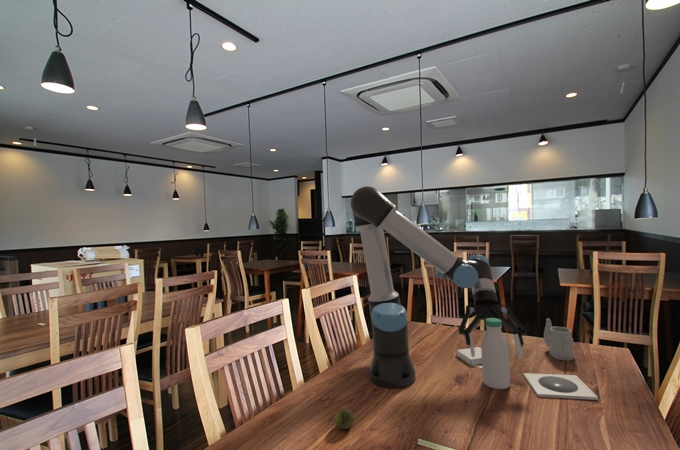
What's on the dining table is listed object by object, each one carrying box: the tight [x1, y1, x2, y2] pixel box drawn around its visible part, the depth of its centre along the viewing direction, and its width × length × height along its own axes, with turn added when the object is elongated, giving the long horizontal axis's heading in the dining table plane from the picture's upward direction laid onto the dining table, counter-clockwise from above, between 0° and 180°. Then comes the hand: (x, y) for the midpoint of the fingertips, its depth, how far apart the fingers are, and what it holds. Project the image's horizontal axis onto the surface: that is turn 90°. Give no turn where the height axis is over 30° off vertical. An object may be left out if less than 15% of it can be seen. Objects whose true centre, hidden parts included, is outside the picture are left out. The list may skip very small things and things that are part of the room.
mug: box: [543, 317, 576, 362], centre depth 123 cm, size 8×12×12 cm, turn 8°
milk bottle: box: [481, 318, 511, 390], centre depth 104 cm, size 8×8×20 cm
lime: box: [334, 408, 355, 430], centre depth 86 cm, size 4×5×5 cm
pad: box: [523, 372, 599, 401], centre depth 101 cm, size 15×13×1 cm
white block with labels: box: [455, 345, 482, 366], centre depth 124 cm, size 20×12×3 cm, turn 12°
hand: (496, 355), depth 102 cm, fingers open, 13 cm apart
